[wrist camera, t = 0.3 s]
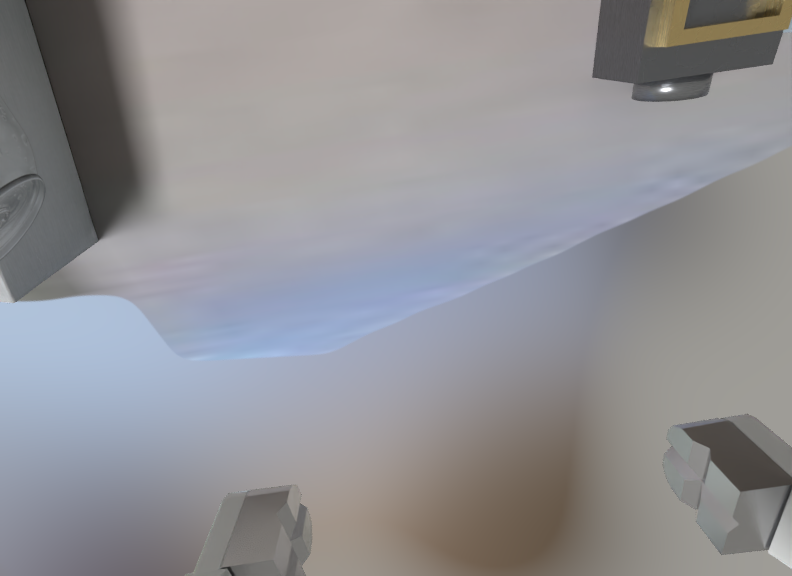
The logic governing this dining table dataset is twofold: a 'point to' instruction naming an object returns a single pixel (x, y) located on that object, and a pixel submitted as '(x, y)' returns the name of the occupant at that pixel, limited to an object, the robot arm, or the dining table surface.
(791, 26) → the light blue block
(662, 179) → the dining table surface
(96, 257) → the dining table surface
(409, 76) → the dining table surface
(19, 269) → the soda pack
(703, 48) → the dark grey toaster
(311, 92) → the dining table surface
